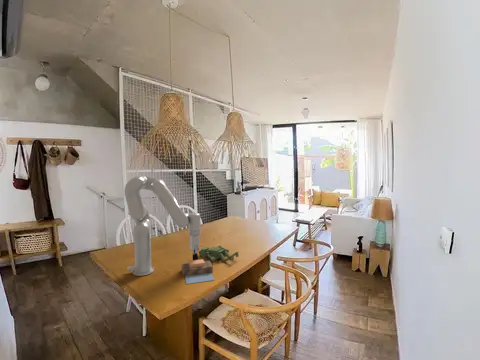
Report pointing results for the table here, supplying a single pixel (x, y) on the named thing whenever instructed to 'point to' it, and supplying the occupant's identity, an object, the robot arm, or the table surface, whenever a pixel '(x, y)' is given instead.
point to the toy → (216, 253)
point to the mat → (199, 278)
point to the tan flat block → (196, 263)
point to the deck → (197, 269)
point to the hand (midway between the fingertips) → (195, 259)
